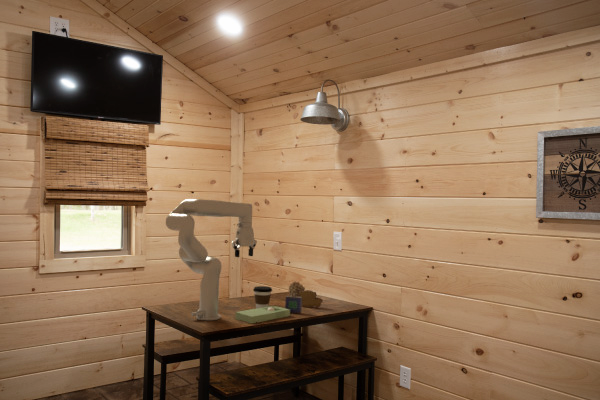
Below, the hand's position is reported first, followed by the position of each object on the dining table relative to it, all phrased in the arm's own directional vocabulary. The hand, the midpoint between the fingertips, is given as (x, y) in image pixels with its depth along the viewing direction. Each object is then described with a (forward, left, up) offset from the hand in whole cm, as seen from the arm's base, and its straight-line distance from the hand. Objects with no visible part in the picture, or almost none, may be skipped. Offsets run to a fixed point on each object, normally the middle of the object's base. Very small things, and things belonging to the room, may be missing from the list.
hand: (243, 256), depth 279 cm
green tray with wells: (0, -18, -30) cm, 35 cm away
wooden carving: (+38, -15, -31) cm, 51 cm away
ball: (+5, -18, -28) cm, 34 cm away
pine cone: (+53, +7, -31) cm, 62 cm away
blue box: (+20, -20, -31) cm, 42 cm away
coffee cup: (+13, -2, -31) cm, 33 cm away
